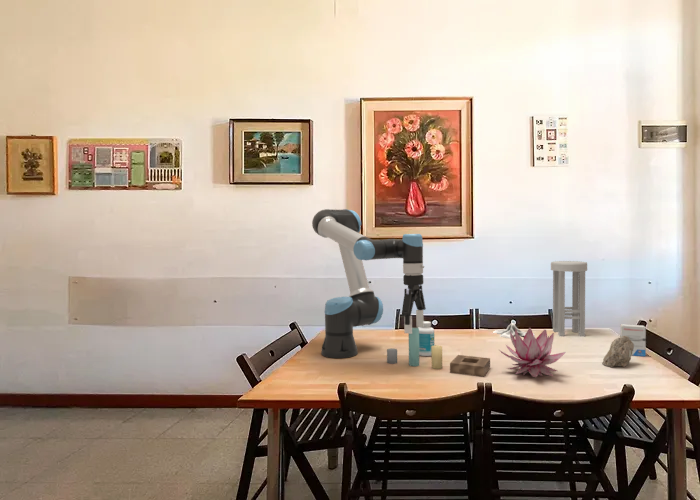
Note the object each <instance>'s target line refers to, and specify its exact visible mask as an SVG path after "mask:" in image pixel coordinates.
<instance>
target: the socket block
mask: <svg viewBox="0 0 700 500" xmlns="http://www.w3.org/2000/svg"><path fill="white" fill-rule="evenodd" d="M490 369H491V358H490V357H484V356H483V357H482V356H481V357H480V356H473V355H463V354H458V355H456V356H455V357H454V359H452V360H451V361H450V363H449V373H451V374H459V375H465V376H466V375H467V376H476V377H482V378H484V377H486V374H487V373H488V371H490Z"/></svg>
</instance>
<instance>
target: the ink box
mask: <svg viewBox="0 0 700 500" xmlns="http://www.w3.org/2000/svg"><path fill="white" fill-rule="evenodd" d="M619 327H620V331H619V332H620V336H619V338H620V337H621V336H628V337H629V339H630V340H631V341H632V342H633V344H634V349H633V351H632V355H631V357H632V356H633V357H634V356H636V357H646V353H647V352H646V349H647V346H646V345H647V344H646V343H647V341H646V339H647V336H646V335H647V331H646V330H647V329H646V327H645V325H641V324H640V325H637V324H624V323H621V324H620V326H619Z"/></svg>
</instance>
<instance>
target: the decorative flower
mask: <svg viewBox="0 0 700 500" xmlns="http://www.w3.org/2000/svg"><path fill="white" fill-rule="evenodd" d="M526 332H527V333H526V334H525V336H524V337H523V339H522V337H521V336H519V335H518V332H517V329H516V328H515V337H513V335H512V333H511V331H510V337H511V338H510V340H511V343H512V345H513V347H514V349H512V348H511V347H510V346H508V344H505V346H506V348H507V350H508V351H509V353H511V355H509V354H507V353H505V352H503V351H501V350H500V349H498V351H499V352H500V353H501V354H502V355H504V356H506V357H507V358H509V359H510V360H512V361H513V362H515V363H511V365H512V366H514V367H507V368H506V369H508V370H514V369H518V370H517V371H516V372H515V373H514V374H515V375H518V374H522V373H523V374H522V376H525V375H526V374H528V372H529V374H530V376H532V378H537V377H538V376H540V377H543V375H542V374H544V375H546V376H550V377H551V376H552V377H554V375H553V373H552V372H558V370H557V369H555V368H552V367H549V366H548V365H551V364H553V363H556V362H558V360H560V359H561V358H562V357H563V356H564V355H565V354H566V351H563V352H559V353H554V354H551V353H552V348H553V347H552V346H553V343H554V336H555V332H552V333H551V335H548V332H547V329H544V330H543V331H541V333H540V334H539V335H538V336H537V337H536V336H535V337H534V336H533V330H532V328H531V327H528V329H527V331H526ZM514 338H515V339H514ZM514 350H515V351H514Z"/></svg>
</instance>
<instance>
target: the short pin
mask: <svg viewBox="0 0 700 500" xmlns="http://www.w3.org/2000/svg"><path fill="white" fill-rule="evenodd" d="M386 363H387V364H388V365H389V364H390V365H394V364H398V349H397V348H387V349H386Z"/></svg>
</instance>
